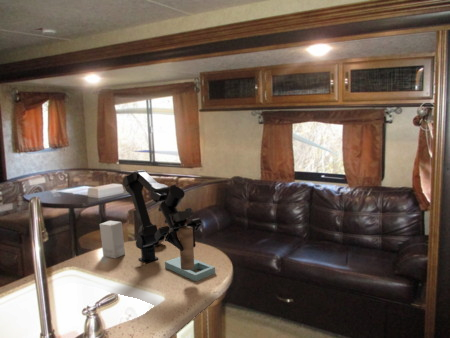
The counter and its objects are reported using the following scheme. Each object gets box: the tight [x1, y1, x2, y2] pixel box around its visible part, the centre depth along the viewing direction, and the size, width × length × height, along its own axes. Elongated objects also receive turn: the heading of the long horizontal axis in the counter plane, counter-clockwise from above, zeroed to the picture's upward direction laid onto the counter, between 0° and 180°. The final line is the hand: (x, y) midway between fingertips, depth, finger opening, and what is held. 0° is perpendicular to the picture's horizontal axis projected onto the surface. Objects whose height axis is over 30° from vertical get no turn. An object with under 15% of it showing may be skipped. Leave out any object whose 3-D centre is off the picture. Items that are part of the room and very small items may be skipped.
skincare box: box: [99, 220, 126, 259], centre depth 163 cm, size 8×7×16 cm
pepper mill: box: [178, 226, 195, 270], centre depth 132 cm, size 5×5×15 cm
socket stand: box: [164, 256, 216, 283], centre depth 144 cm, size 20×10×2 cm, turn 44°
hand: (188, 248), depth 131 cm, fingers closed on pepper mill, 5 cm apart
